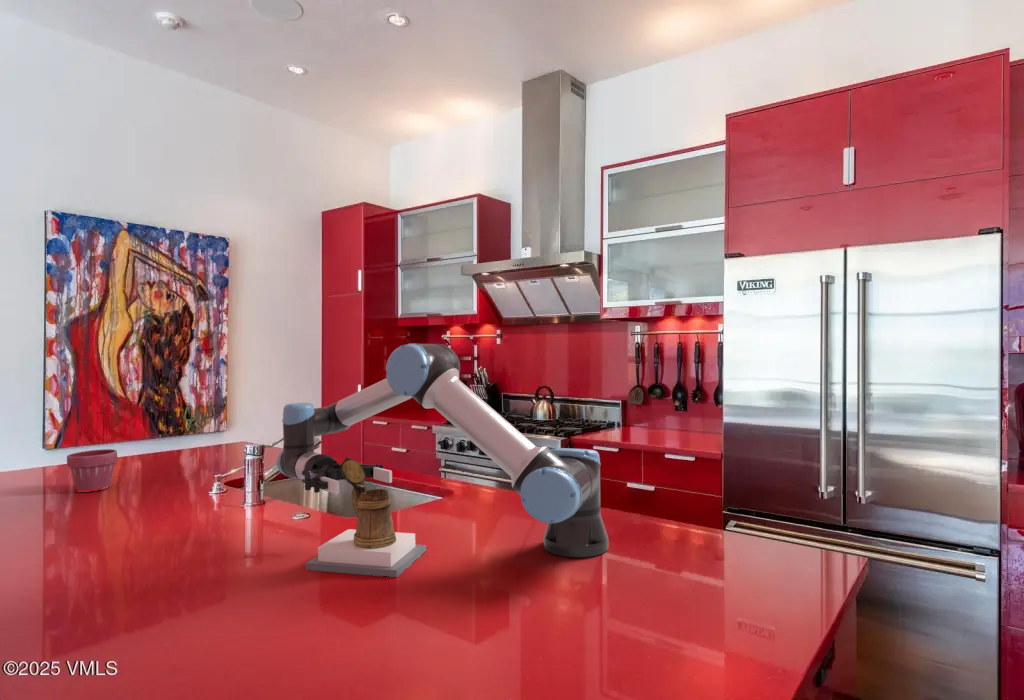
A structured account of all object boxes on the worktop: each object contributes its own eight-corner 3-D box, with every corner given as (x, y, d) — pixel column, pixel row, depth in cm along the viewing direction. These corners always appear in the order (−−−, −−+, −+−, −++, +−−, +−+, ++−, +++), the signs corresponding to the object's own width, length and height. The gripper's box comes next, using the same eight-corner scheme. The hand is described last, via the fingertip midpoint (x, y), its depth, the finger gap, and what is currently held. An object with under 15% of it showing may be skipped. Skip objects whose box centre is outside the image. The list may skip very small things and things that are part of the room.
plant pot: (56, 494, 200) (55, 456, 200) (92, 484, 214) (91, 448, 213) (93, 495, 197) (93, 456, 197) (127, 485, 211) (127, 449, 211)
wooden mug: (361, 530, 141) (360, 453, 141) (404, 539, 133) (403, 459, 133) (331, 540, 133) (330, 460, 133) (375, 551, 126) (373, 466, 126)
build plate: (426, 551, 139) (425, 532, 139) (396, 577, 123) (396, 555, 123) (344, 545, 144) (344, 526, 144) (306, 569, 128) (305, 548, 128)
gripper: (361, 475, 157) (410, 488, 142) (268, 493, 139) (313, 510, 124) (361, 447, 157) (410, 457, 142) (267, 461, 139) (312, 474, 124)
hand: (365, 482), depth 133 cm, fingers open, 13 cm apart
